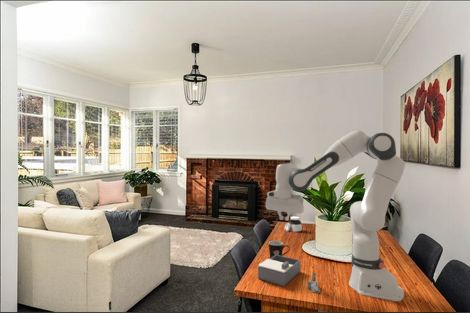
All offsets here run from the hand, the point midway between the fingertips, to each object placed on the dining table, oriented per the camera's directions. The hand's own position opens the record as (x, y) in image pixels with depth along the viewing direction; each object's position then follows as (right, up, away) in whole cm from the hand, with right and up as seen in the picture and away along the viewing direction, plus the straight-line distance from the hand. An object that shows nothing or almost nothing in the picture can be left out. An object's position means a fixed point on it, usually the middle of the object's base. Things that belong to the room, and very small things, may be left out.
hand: (284, 220), depth 144 cm
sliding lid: (-6, -21, -8) cm, 23 cm away
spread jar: (+20, -27, +75) cm, 82 cm away
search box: (-3, -27, -4) cm, 28 cm away
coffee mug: (-1, -27, +15) cm, 31 cm away
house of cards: (+9, -28, -17) cm, 34 cm away
